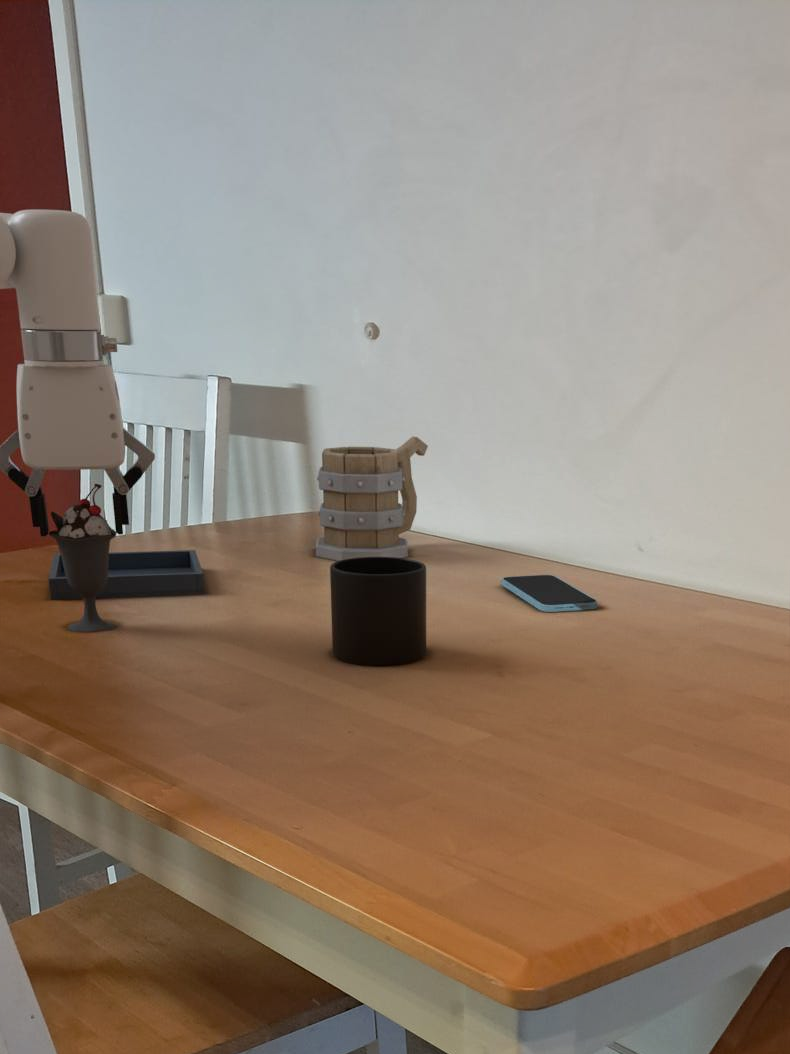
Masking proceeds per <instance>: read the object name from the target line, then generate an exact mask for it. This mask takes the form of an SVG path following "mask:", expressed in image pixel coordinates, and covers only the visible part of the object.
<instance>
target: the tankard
mask: <svg viewBox="0 0 790 1054" xmlns="http://www.w3.org/2000/svg"><path fill="white" fill-rule="evenodd" d="M428 447H429V446H428V444H427V443H425V441H423V440H422V439H421V438H419V437H417V436H411V437H410V438H408V440H406V441H405V442H404V443H403V444H401V445H400V446H399V447H397V448H396V449H395V448H387V447H379V446H375V447H374V446H339V447H338V446H337V447H329V448H328V447H326V448H324V449H323V450H322V452H321V461H322V462H321V463H322V464H321V465H322V466H321V467H319V469H318V475H317V477H316V481H318V489H319V490H321V491H322V494H323V496H322V498H323V499H322V500H323V502H321V504H320V506H319V511H318V512H317V515H318V516H319V525H320V526H321V527H324V528H323V529H324V530H323V531H324V537H318V539H316V543H315V557H316V558H321V559H325V560H331V561H334V562H337V561H340V560H344V559H350V558H359V557H396V558H405V559H407V558H408V556H409V553H408V552H409V549H408V540H407V538H404V537H399V535H401V534H403V533H406V532H408V531H411V529H412V526H413V523H414V521H415V517H416V515H417V506H418V505H417V504H418V496H417V492H416V488H415V485H414V481H413V477H412V462H411V458H412V456H414V455H415V454H416V456H421V457H424V456H425V455H426V452H427V451H428ZM399 492H400V496H401V499H402V500H401V503H399Z"/></svg>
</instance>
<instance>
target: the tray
mask: <svg viewBox="0 0 790 1054" xmlns="http://www.w3.org/2000/svg"><path fill="white" fill-rule="evenodd" d="M51 560H52V561H51V566H50V571H49V575H48V587H49V594H50V601H63V600H64V601H65V600H84V599H83V597H82V595H81V594H80V593H78V592H77V591H75V590H74V589H73V588H72V587H71V586H70V585H69V584H68V580H67V577H66V574H65V571H64V566H63V562H62V557H61V553H53V555H52V559H51ZM205 594H206V593H205V579H204V572H203V569H202V566H201V563H200V560H199V557H198V554H197V551H196V550H195V549H187V550H186V549H182V550H155V551H154V550H150V551H148V550H147V551H115V552H113V551H112V552H109V563H108V577H107V584H106V585H105V586H104V588H103V589H102V590H101V591H100V592H99V593H98V594H97V595H96V597H95V599H115V598H140V597H143V598H144V597H145V598H146V597H169V596H171V597H172V596H193V595H194V596H196V595H197V596H198V595H199V596H200V595H205Z"/></svg>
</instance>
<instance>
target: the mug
mask: <svg viewBox="0 0 790 1054" xmlns="http://www.w3.org/2000/svg"><path fill="white" fill-rule="evenodd" d="M329 576H330V577H329V579H330V582H329V583H330V611H331V612H330V614H331V645H332V646H331V647H332V654H333V657H334V658H335V659H337V660H338V661H340V662H343V663H346V664H351V665H355V666H361V667H362V666H363V667H395V666H403V665H408V664H412V663H415V662H418V661H421V660H423V659H424V658H425V656H426V654H427V566H426V564H425V563H423V562H421V561H418V560H415V559H411V558H396V557H359V558H350V559H344V560H340V561H334V562H332V563H331V564H330V566H329Z"/></svg>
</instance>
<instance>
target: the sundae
mask: <svg viewBox="0 0 790 1054" xmlns="http://www.w3.org/2000/svg"><path fill="white" fill-rule="evenodd" d="M99 489H102V484H99V483H94V487H93V488H92V489H91V490H90V491H89V493H88V494H87V495H86V496H85V497H84V498H81V499H79V501H78V504H75V505H72V506H71V507H69V508H67V510H66V511H65V512H64V514H63V516H62V515H59V514H58V513H56V512H54V511H50V516H51V519H52V521H53V522H54V524H55V527H56V529H55V530H51V531H50V530H49V533H48V536H50V537H51V538H53V539H55V541H56V543H57V546H58V549H59V554H61V557H62V562H63V566H64V571H65V574H66V577H67V580H68V584H69V585H70V586H71V587H72V588H73V589H74V590H75V591H77V592H78V593H80V594H81V595H82V597H83V599H82V600H83V608H84V609H83V616H82V617H81V619H80V620H79V621H78V622H73V623H71V624H69V625H68V626H67V629H68V630H69V631H72V632H76V633H100V632H105V631H109V630H113V629H114V628H116V624H115V623H113V622H111V621H107V620H103V619H102V618H101V617H100V615H99V613H98V610H97V606H96V605H97V603H96V598H95V597H96V595H97V594H98V593H99V592H100V591H101V590H102V589H103V588H104V586H105V585H106V584H107V577H108V563H109V553H110V546H111V541H112V540H113V539H114V538H115V537H117V533H116V529H114V528H112V527H111V526H110V525H109V523H108V520H107V519H105V518H104V517H103V516H102V515H101V513H102V508H101V507H100V506H99V505H97V503H96V501H95V496H96V493H97V492H98V490H99ZM93 491H94V492H93ZM92 492H93V495H92V505H91V501H90V500H89V499H88V498H89V497H90V495H91V494H92Z"/></svg>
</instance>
